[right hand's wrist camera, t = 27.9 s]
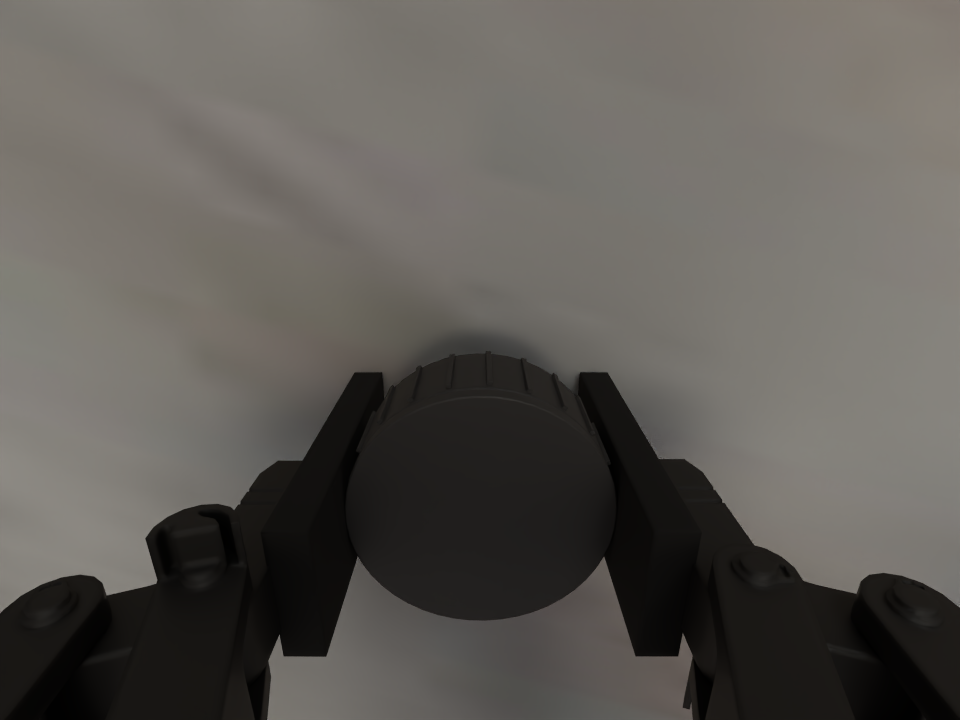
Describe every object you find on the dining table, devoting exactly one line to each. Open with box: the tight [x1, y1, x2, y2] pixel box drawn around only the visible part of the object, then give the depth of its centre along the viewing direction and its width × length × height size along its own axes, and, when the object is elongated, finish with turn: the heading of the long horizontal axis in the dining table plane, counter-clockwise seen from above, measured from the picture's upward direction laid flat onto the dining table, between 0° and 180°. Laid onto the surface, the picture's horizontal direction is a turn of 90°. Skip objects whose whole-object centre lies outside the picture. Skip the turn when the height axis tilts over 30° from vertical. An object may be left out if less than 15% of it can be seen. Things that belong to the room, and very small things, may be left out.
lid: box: [345, 351, 617, 620], centre depth 12 cm, size 6×6×2 cm
